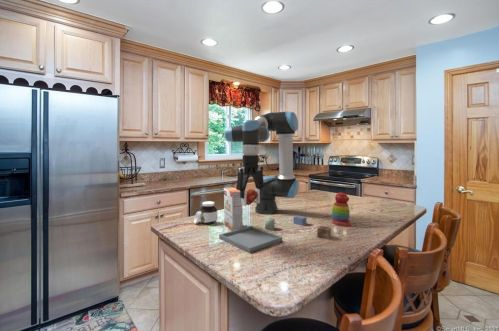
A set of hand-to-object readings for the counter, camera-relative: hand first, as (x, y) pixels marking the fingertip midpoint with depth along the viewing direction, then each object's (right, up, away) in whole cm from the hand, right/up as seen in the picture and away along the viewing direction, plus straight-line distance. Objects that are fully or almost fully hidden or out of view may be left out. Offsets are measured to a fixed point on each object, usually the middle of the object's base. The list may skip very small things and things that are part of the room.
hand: (250, 203), depth 122 cm
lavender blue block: (+28, -15, +27) cm, 42 cm away
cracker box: (-9, -16, +20) cm, 27 cm away
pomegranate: (0, -1, 0) cm, 1 cm away
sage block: (+10, -16, +18) cm, 26 cm away
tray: (0, -17, +1) cm, 17 cm away
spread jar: (-26, -15, +28) cm, 41 cm away
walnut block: (+36, -17, +6) cm, 40 cm away
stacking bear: (+51, -15, +27) cm, 60 cm away
